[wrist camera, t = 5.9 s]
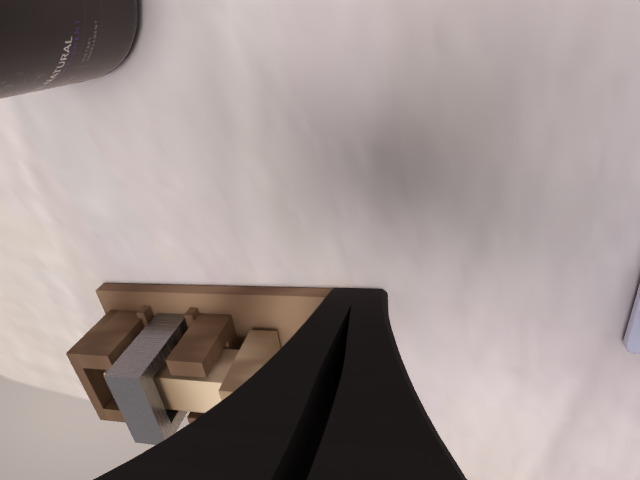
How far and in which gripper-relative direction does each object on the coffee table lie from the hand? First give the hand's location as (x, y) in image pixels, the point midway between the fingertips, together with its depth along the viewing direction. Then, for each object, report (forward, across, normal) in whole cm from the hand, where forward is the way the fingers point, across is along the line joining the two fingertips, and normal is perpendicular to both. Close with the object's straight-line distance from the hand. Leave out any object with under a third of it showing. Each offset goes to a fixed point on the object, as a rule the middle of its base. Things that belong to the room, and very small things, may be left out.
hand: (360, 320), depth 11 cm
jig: (+10, +9, +10) cm, 17 cm away
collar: (+9, +13, +10) cm, 19 cm away
